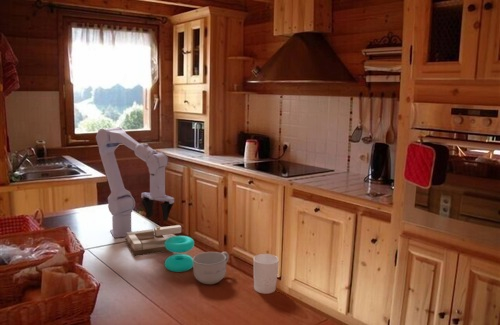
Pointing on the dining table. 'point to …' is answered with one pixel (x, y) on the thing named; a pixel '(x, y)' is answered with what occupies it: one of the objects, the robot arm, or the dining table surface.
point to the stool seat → (145, 242)
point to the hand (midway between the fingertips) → (157, 218)
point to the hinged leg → (167, 230)
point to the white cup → (265, 273)
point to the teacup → (210, 266)
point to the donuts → (179, 260)
